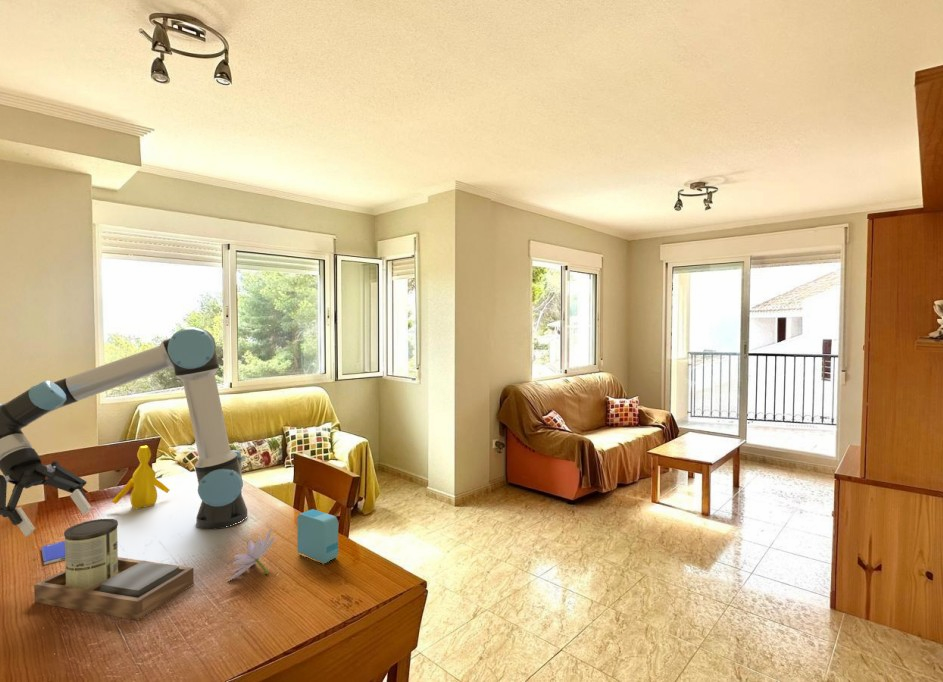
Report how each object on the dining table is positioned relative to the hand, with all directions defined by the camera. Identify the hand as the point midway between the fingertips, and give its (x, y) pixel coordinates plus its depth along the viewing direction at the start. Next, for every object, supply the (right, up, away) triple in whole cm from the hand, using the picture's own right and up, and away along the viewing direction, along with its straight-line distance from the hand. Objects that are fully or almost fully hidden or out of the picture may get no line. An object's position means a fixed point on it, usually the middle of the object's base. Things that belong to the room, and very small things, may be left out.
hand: (60, 521), depth 121 cm
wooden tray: (+18, -15, -5) cm, 24 cm away
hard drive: (-13, -16, +16) cm, 26 cm away
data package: (+60, -15, +14) cm, 64 cm away
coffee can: (+11, -14, -3) cm, 18 cm away
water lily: (+45, -16, +6) cm, 48 cm away
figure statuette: (-15, -14, +52) cm, 56 cm away
